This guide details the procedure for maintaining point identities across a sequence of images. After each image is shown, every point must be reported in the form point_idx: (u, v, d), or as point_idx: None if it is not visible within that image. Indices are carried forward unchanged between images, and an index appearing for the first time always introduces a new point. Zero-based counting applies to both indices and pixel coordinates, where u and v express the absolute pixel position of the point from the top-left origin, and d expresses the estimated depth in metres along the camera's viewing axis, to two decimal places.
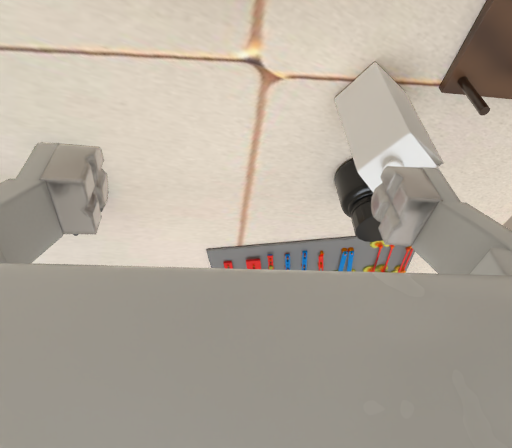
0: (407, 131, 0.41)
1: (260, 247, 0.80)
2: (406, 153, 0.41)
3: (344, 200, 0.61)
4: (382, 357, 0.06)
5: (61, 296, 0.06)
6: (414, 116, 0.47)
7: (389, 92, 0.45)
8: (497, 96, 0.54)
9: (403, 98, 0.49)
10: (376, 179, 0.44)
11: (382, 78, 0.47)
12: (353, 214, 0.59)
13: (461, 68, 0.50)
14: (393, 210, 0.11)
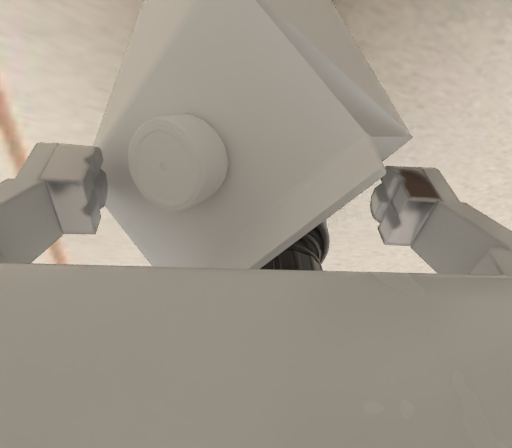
0: None
1: None
2: (223, 80, 0.08)
3: None
4: (382, 358, 0.06)
5: (61, 296, 0.06)
6: (320, 3, 0.15)
7: None
8: None
9: None
10: (143, 204, 0.11)
11: None
12: None
13: None
14: (392, 210, 0.11)
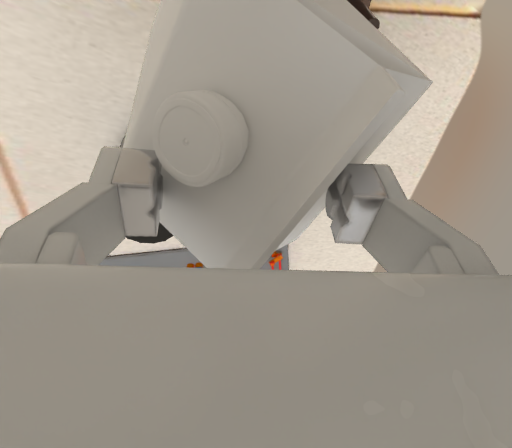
0: None
1: None
2: (230, 49, 0.09)
3: None
4: (382, 357, 0.06)
5: (61, 296, 0.06)
6: None
7: None
8: None
9: None
10: (174, 192, 0.11)
11: None
12: None
13: None
14: (343, 208, 0.11)
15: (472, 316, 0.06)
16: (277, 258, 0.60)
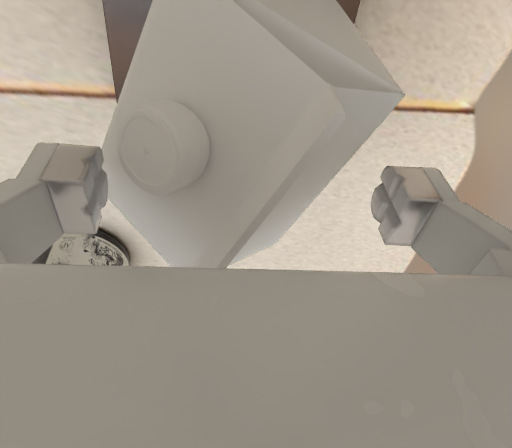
0: None
1: None
2: (191, 61, 0.09)
3: None
4: (382, 357, 0.06)
5: (61, 296, 0.06)
6: None
7: None
8: None
9: None
10: (144, 197, 0.11)
11: None
12: None
13: (123, 59, 0.24)
14: (393, 210, 0.11)
15: (472, 316, 0.06)
16: None
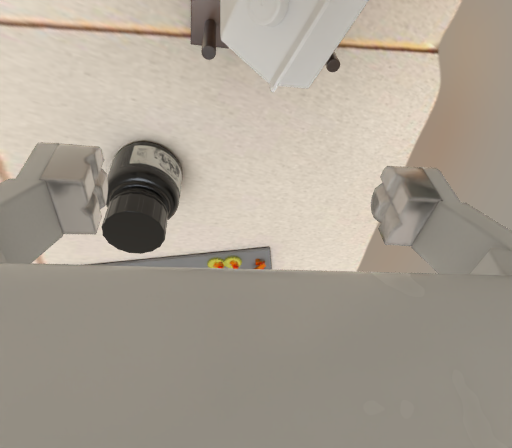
0: None
1: None
2: None
3: None
4: (382, 357, 0.06)
5: (61, 296, 0.06)
6: None
7: None
8: None
9: None
10: (251, 40, 0.23)
11: None
12: None
13: (199, 6, 0.37)
14: (393, 210, 0.11)
15: (472, 316, 0.06)
16: (260, 266, 0.64)
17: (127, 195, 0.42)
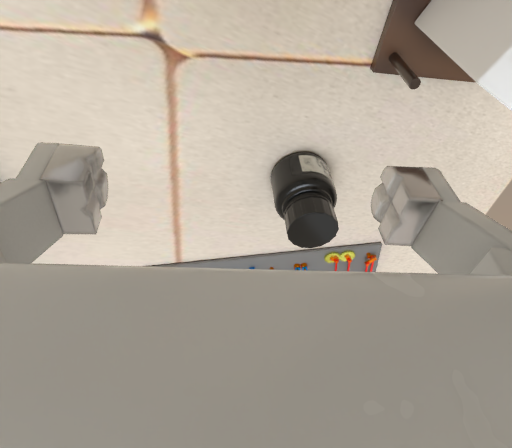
0: None
1: (201, 264, 0.71)
2: None
3: (277, 200, 0.53)
4: (382, 358, 0.06)
5: (61, 296, 0.06)
6: None
7: None
8: (437, 77, 0.47)
9: None
10: (509, 85, 0.31)
11: None
12: (285, 215, 0.51)
13: (390, 42, 0.44)
14: (393, 210, 0.11)
15: (472, 316, 0.06)
16: (372, 259, 0.71)
17: (309, 199, 0.50)
